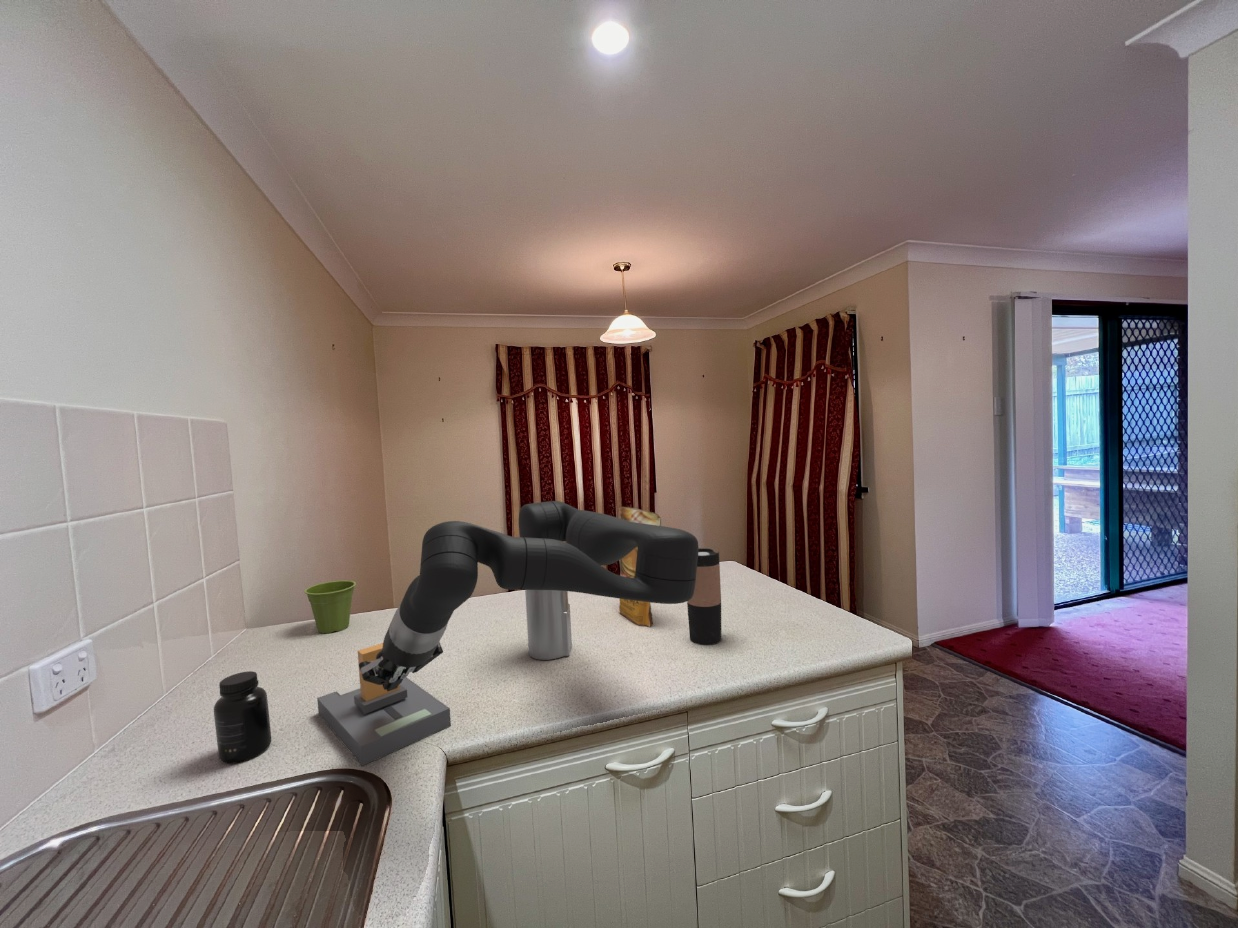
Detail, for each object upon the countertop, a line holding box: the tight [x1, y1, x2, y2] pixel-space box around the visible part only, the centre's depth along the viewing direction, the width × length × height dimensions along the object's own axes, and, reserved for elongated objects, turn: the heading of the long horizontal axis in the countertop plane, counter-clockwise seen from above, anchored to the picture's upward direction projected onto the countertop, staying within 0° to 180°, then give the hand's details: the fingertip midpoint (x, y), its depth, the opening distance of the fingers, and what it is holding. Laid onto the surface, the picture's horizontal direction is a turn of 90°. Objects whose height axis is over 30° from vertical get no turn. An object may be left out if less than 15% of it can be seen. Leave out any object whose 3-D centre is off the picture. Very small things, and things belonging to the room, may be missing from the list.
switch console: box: [316, 676, 452, 767], centre depth 89 cm, size 22×14×3 cm, turn 45°
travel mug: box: [686, 547, 722, 646], centre depth 117 cm, size 8×8×20 cm
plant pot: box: [303, 579, 357, 634], centre depth 136 cm, size 12×12×11 cm
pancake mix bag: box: [618, 506, 662, 627], centre depth 133 cm, size 7×19×28 cm, turn 25°
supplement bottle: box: [213, 670, 272, 765], centre depth 81 cm, size 7×7×12 cm
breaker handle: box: [354, 642, 407, 714], centre depth 89 cm, size 5×7×9 cm
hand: (390, 684), depth 85 cm, fingers closed
